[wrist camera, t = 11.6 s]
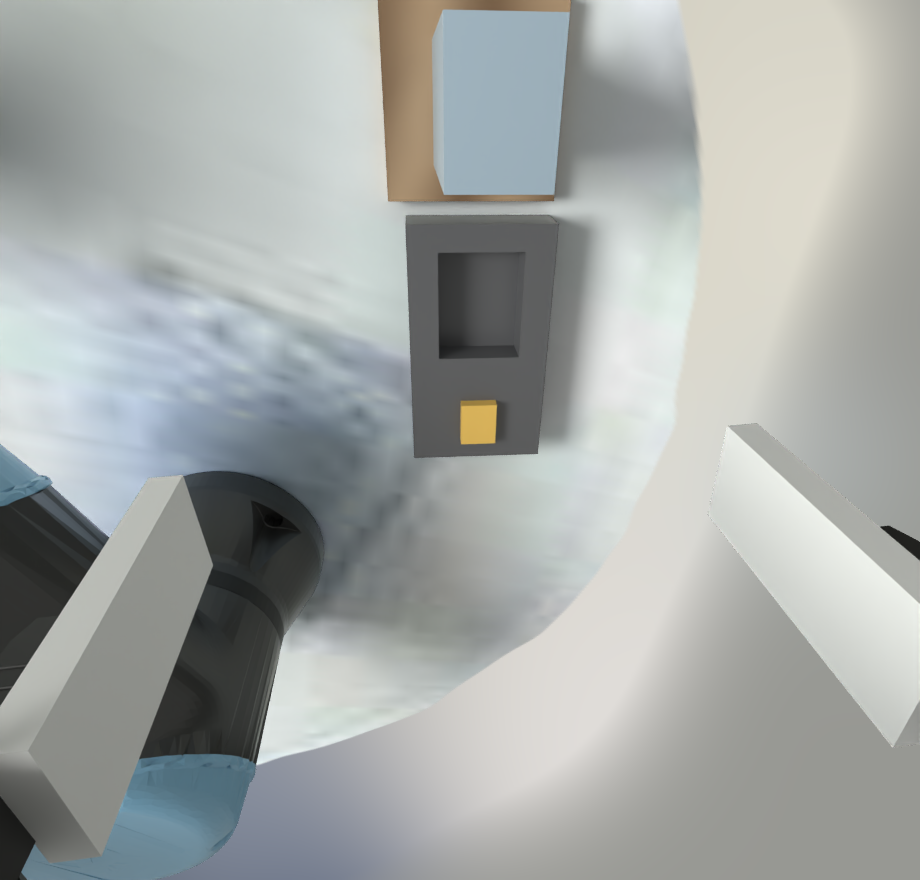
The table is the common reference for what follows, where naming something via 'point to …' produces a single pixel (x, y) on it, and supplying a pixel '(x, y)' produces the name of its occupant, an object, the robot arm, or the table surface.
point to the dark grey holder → (479, 331)
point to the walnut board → (425, 92)
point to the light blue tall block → (498, 100)
